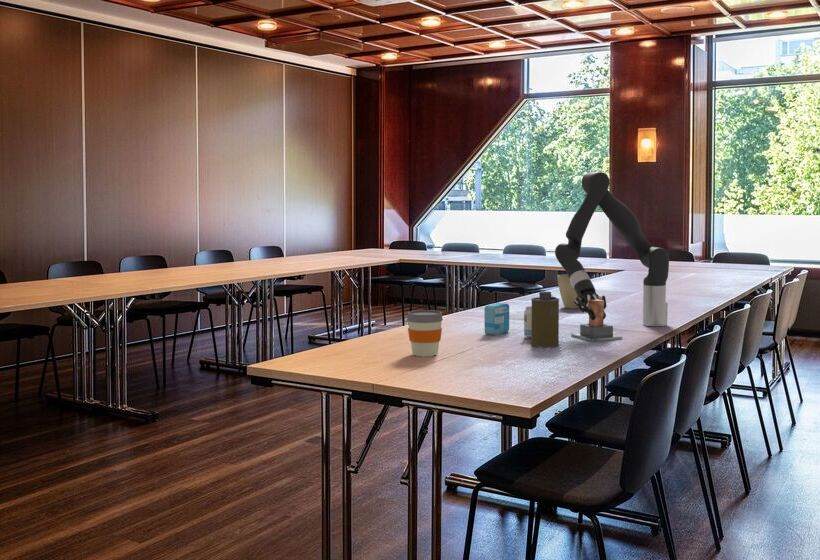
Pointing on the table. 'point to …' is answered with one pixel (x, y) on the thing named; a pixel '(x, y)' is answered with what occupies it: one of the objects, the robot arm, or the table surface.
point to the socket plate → (596, 333)
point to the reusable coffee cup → (424, 331)
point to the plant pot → (567, 291)
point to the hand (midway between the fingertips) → (599, 318)
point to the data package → (496, 318)
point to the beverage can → (528, 322)
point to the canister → (545, 320)
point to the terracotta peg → (597, 312)
